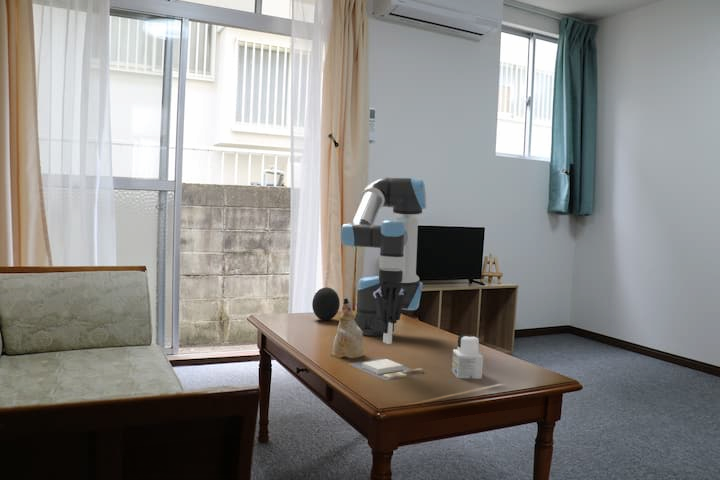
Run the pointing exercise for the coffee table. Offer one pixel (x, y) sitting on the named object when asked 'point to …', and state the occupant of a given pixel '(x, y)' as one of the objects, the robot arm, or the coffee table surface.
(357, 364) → the mat
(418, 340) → the coffee table surface
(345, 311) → the figurine
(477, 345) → the container
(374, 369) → the tile
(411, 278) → the robot arm
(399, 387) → the coffee table surface
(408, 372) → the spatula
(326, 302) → the decorative egg
